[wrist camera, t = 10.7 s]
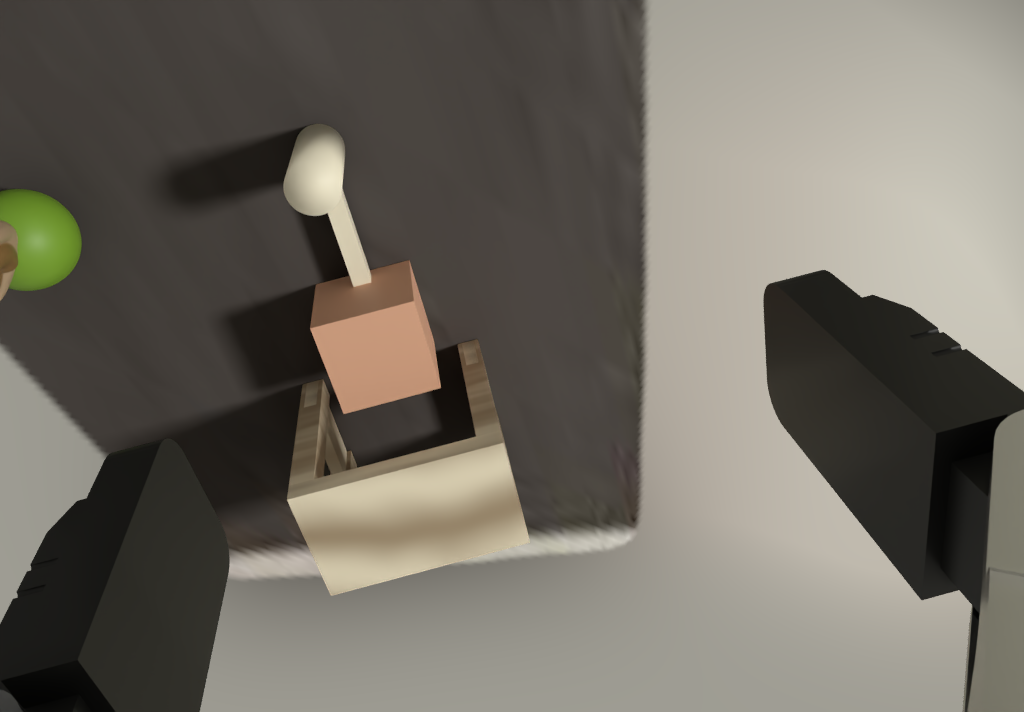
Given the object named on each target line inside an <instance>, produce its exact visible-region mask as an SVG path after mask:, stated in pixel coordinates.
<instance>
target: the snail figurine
mask: <svg viewBox="0 0 1024 712" xmlns="http://www.w3.org/2000/svg"><path fill="white" fill-rule="evenodd" d="M81 246H82V242H81V234H80V230H79V227H78V225H77V223H76V221H75V219H74V218H73V216H72V215H71V213H70V212H69V211H68V210H67V209H66V208H65V207H64V206H63V205H62V204H61V203H59V202H58V201H56V200H55V199H53V198H51V197H50V196H48V195H45V194H43V193H40V192H37V191H32V190H26V189H10V190H4V191H0V301H1V300H2V298H3V297H4V295H5V293H6V292H7V290H8V288H10V289H14V290H22V291H32V290H40V289H44V288H47V287H50V286H52V285H55V284H57V283H58V282H60V281H61V280H63V279H64V278H65V277H67V276H68V275H69V274H70V273H71V271H72V270H73V269H74V267H75V266H76V264H77V262H78V260H79V257H80V253H81Z"/></svg>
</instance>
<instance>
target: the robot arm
mask: <svg viewBox="0 0 1024 712" xmlns="http://www.w3.org/2000/svg"><path fill="white" fill-rule="evenodd" d="M764 324H765V345H766V366H767V384H768V390H769V394H770V398H771V402H772V404H773V408H774V410H775V412H776V415H777V417H778V419H779V420H780V422H781V424H782V425H783V426H784V428H785V429H786V430H787V432H788V433H789V434H790V435H791V437H792V438H793V439H794V440H795V441H796V443H797V444H798V445H799V447H800V448H801V449H802V450H803V452H804V453H805V454H806V456H807V457H808V458H809V459H810V461H811V462H812V463H813V464H814V465H815V467H816V468H817V469H818V471H819V472H820V473H821V474H822V476H823V477H824V478H825V479H826V481H827V482H828V483H829V484H830V485H831V487H832V488H833V489H834V491H835V492H836V493H837V494H838V496H839V497H840V498H841V499H842V501H843V502H844V503H845V505H846V506H847V507H848V508H849V510H850V511H851V512H852V513H853V515H854V516H855V517H856V518H857V519H858V521H859V522H860V523H861V525H862V526H863V527H864V528H865V530H866V531H867V532H868V533H869V535H870V536H871V537H872V538H873V540H874V541H875V542H876V543H877V545H878V546H879V547H880V549H881V550H882V551H883V552H884V553H885V555H886V556H887V557H888V559H889V560H890V561H891V562H892V564H893V565H894V566H895V567H896V568H897V570H898V571H899V572H900V573H901V574H902V576H903V577H904V579H905V580H906V581H907V582H908V584H909V585H910V586H911V587H912V588H913V590H914V591H915V593H916V594H917V595H918V596H919V597H920V599H921V600H924V599H928V598H932V597H935V596H939V595H943V594H946V593H950V592H953V591H957V590H960V591H961V593H962V594H963V595H964V596H965V597H966V598H967V600H969V602H970V603H971V604H972V609H971V616H970V623H969V636H968V649H967V661H966V675H965V687H964V700H963V712H1024V392H1023V391H1022V390H1021V389H1019V388H1018V387H1016V386H1015V385H1014V384H1012V383H1011V382H1010V381H1008V380H1007V379H1006V378H1004V377H1003V376H1002V375H1000V374H999V373H998V372H996V371H995V370H994V369H992V368H991V367H990V366H988V365H987V364H986V363H984V362H983V361H982V360H980V359H979V358H978V357H976V356H975V355H974V354H972V353H971V352H969V351H968V350H967V349H965V350H962V349H961V345H960V344H959V343H957V342H956V341H955V340H953V339H952V338H951V337H949V336H948V335H947V334H945V333H944V332H942V333H939V331H938V328H937V327H936V326H935V325H933V324H932V323H930V322H929V321H928V320H926V319H925V318H924V317H922V316H921V315H920V314H918V313H917V312H916V311H914V310H913V309H912V308H909V307H906V306H904V305H901V304H898V303H895V302H892V301H889V300H886V299H883V298H880V297H878V296H875V295H871V296H867V297H863V298H862V297H860V296H859V295H858V294H857V293H855V292H854V291H853V290H852V289H850V288H849V287H848V286H847V285H845V284H844V283H843V282H841V281H840V280H839V279H838V278H836V277H835V276H834V275H833V274H831V273H830V272H828V271H826V270H821V271H817V272H813V273H809V274H805V275H801V276H798V277H794V278H790V279H786V280H782V281H778V282H774V283H771V284H769V285H768V286H767V287H766V289H765V293H764ZM228 572H229V549H228V544H227V539H226V536H225V532H224V530H223V527H222V525H221V523H220V521H219V519H218V517H217V515H216V513H215V511H214V509H213V507H212V505H211V503H210V501H209V500H208V498H207V496H206V494H205V492H204V490H203V488H202V486H201V484H200V482H199V481H198V479H197V477H196V475H195V473H194V471H193V469H192V467H191V465H190V463H189V462H188V460H187V458H186V456H185V454H184V452H183V451H182V449H181V448H180V446H179V445H178V444H177V443H176V442H175V441H174V440H172V439H163V440H160V441H156V442H152V443H148V444H144V445H140V446H136V447H133V448H129V449H125V450H121V451H117V452H113V453H111V454H109V455H108V456H107V457H106V459H105V460H104V463H103V465H102V467H101V469H100V471H99V473H98V475H97V477H96V480H95V482H94V484H93V486H92V488H91V490H90V492H89V494H88V497H87V499H83V500H79V501H77V502H76V503H75V504H74V505H73V506H72V507H71V508H70V509H69V510H68V511H67V512H66V513H65V514H64V515H63V516H62V517H61V518H60V519H59V520H58V522H57V523H56V524H55V525H54V526H53V527H52V528H51V529H50V530H49V531H48V532H47V534H46V535H45V538H44V539H43V541H42V543H41V545H40V547H39V549H38V551H37V553H36V555H35V557H34V559H33V561H32V563H31V571H28V572H27V573H26V575H25V577H24V578H23V581H22V582H21V585H20V586H19V589H18V590H17V594H18V598H15V599H13V600H12V602H11V604H10V606H9V608H8V610H7V612H6V614H5V616H4V618H3V620H2V622H1V624H0V712H199V711H200V707H201V702H202V697H203V692H204V688H205V683H206V678H207V673H208V669H209V664H210V659H211V654H212V649H213V644H214V640H215V634H216V630H217V625H218V621H219V616H220V611H221V606H222V601H223V597H224V592H225V587H226V582H227V577H228Z"/></svg>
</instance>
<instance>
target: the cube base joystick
mask: <svg viewBox="0 0 1024 712" xmlns="http://www.w3.org/2000/svg"><path fill="white" fill-rule="evenodd" d="M344 160H345V144H344V141H343V139H342V137H341V135H340V134H339V133H338V132H337V131H336V130H335V129H333V128H332V127H330V126H328V125H324V124H313V125H309V126H307V127H306V128H304V129H303V130H302V131H301V132H300V133H299V135H298V136H297V139H296V142H295V145H294V149H293V152H292V156H291V159H290V162H289V166H288V169H287V172H286V176H285V179H284V185H283V187H284V194H285V197H286V199H287V201H288V202H289V204H290V205H291V206H292V207H293V208H294V209H296V210H297V211H299V212H300V213H303V214H305V215H310V216H320V215H324V214H326V213H328V216H329V218H330V221H331V224H332V227H333V230H334V233H335V235H336V238H337V241H338V244H339V247H340V250H341V252H342V255H343V258H344V261H345V264H346V267H347V270H348V272H349V275H350V276H346V277H343V278H339V279H335V280H331V281H327V282H323V283H320V284H316V288H315V295H314V303H313V310H312V318H311V325H310V330H311V332H312V335H313V337H314V340H315V342H316V345H317V347H318V350H319V352H320V355H321V357H322V360H323V363H324V365H325V368H326V370H327V373H328V375H329V378H330V380H331V383H332V385H333V388H334V390H335V393H336V395H337V398H338V401H339V403H340V406H341V408H342V411H343V413H344V414H346V413H350V412H353V411H357V410H361V409H365V408H368V407H372V406H376V405H379V404H383V403H387V402H391V401H394V400H398V399H402V398H406V397H409V396H413V395H417V394H421V393H424V392H428V391H432V390H436V389H439V388H441V385H440V378H439V371H438V365H437V358H436V352H435V345H434V340H433V336H432V333H431V330H430V327H429V323H428V320H427V317H426V313H425V310H424V307H423V304H422V300H421V297H420V294H419V291H418V287H417V284H416V281H415V277H414V274H413V271H412V268H411V264H410V261H409V260H407V261H403V262H400V263H396V264H392V265H388V266H384V267H381V268H377V269H373V270H369V267H368V264H367V261H366V258H365V255H364V252H363V249H362V246H361V243H360V240H359V237H358V234H357V231H356V228H355V225H354V222H353V219H352V216H351V213H350V210H349V207H348V204H347V201H346V198H345V195H344V193H343V190H342V183H343V172H344Z"/></svg>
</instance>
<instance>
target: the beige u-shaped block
mask: <svg viewBox="0 0 1024 712" xmlns="http://www.w3.org/2000/svg"><path fill="white" fill-rule="evenodd" d="M457 345H458V350H459V355H460V360H461V365H462V370H463V375H464V380H465V384H466V389H467V394H468V399H469V404H470V409H471V414H472V419H473V424H474V429H475V434H476V437H473V438H469V439H465V440H461V441H458V442H454V443H450V444H446V445H442V446H439V447H435V448H431V449H427V450H423V451H420V452H416V453H412V454H408V455H404V456H401V457H397V458H393V459H389V460H385V461H381V462H378V463H374V464H370V465H366V466H362V467H359V468H357V465H356V462H355V460H354V457H353V454H352V452H351V450H350V451H346V448H345V446H344V443H343V441H342V438H341V436H340V433H339V430H338V428H337V425H336V423H335V420H334V418H333V415H332V413H331V410H330V408H329V400H330V395H329V393H328V390H327V388H326V385H325V382H324V380H323V379H321V380H317V381H314V382H310V383H306V384H303V385H302V392H301V400H300V407H299V415H298V422H297V429H296V437H295V444H294V452H293V459H292V466H291V474H290V481H289V488H288V496H287V501H288V503H289V505H290V508H291V510H292V512H293V514H294V516H295V518H296V521H297V523H298V525H299V527H300V529H301V531H302V534H303V536H304V538H305V540H306V542H307V545H308V547H309V549H310V551H311V553H312V555H313V558H314V560H315V562H316V564H317V566H318V568H319V571H320V573H321V575H322V577H323V579H324V582H325V583H326V586H327V588H328V590H329V592H330V595H331V596H332V595H336V594H340V593H344V592H347V591H351V590H355V589H358V588H362V587H366V586H370V585H373V584H377V583H380V582H385V581H388V580H392V579H396V578H400V577H403V576H407V575H411V574H415V573H418V572H422V571H426V570H430V569H433V568H437V567H441V566H444V565H448V564H452V563H456V562H459V561H463V560H467V559H471V558H474V557H478V556H482V555H486V554H489V553H493V552H497V551H501V550H504V549H508V548H512V547H515V546H519V545H523V544H527V543H530V540H529V537H528V533H527V529H526V525H525V521H524V517H523V513H522V509H521V505H520V501H519V497H518V493H517V489H516V485H515V481H514V477H513V474H512V470H511V466H510V462H509V458H508V454H507V450H506V446H505V442H504V438H503V434H502V430H501V426H500V423H499V419H498V415H497V412H496V409H495V405H494V401H493V397H492V393H491V389H490V385H489V381H488V377H487V374H486V370H485V366H484V362H483V358H482V354H481V350H480V346H479V342H478V339H476V340H472V341H468V342H464V343H460V344H457ZM325 460H326V462H327V465H328V467H329V470H330V475H328V476H324V465H325Z"/></svg>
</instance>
